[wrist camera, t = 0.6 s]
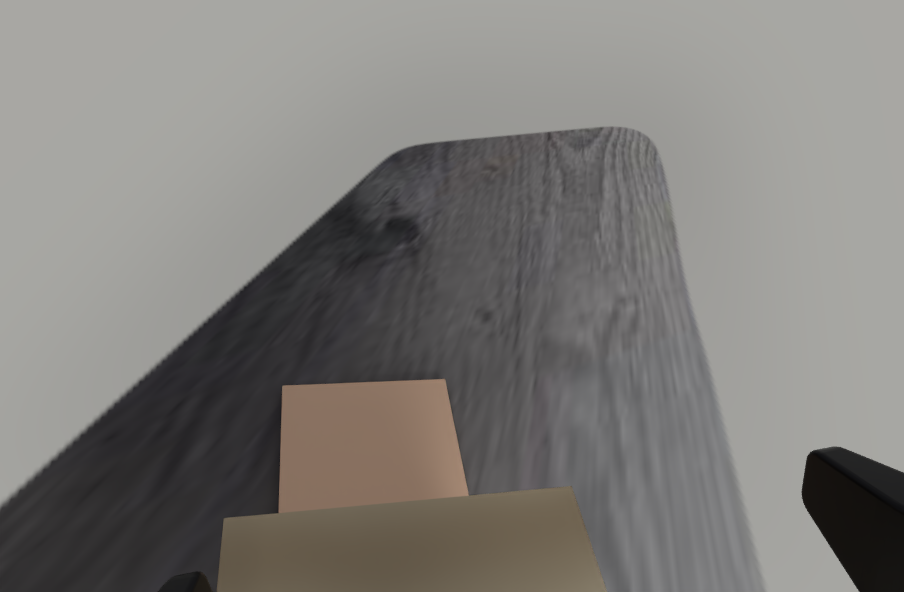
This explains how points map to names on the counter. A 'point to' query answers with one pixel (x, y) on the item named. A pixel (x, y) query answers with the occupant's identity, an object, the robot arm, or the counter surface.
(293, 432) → the pad
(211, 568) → the counter surface
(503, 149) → the counter surface
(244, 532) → the birch block
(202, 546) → the counter surface
